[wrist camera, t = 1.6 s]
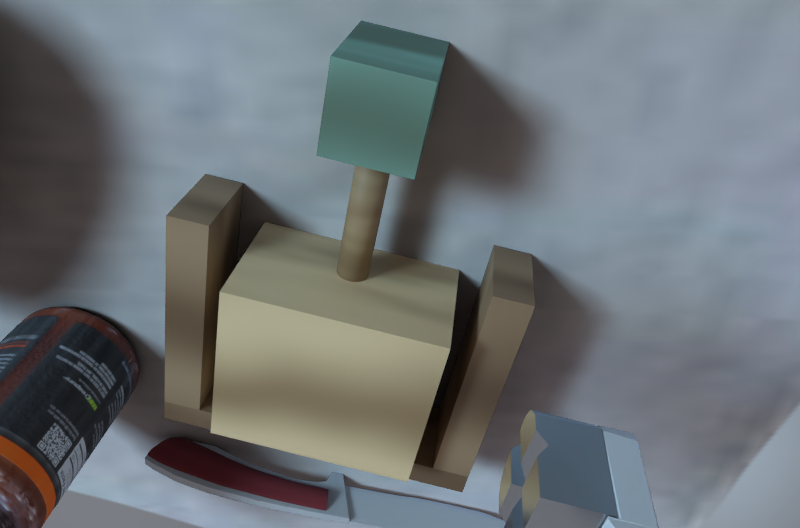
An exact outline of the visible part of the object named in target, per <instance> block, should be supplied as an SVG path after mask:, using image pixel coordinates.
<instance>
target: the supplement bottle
mask: <svg viewBox="0 0 800 528" xmlns="http://www.w3.org/2000/svg"><path fill="white" fill-rule="evenodd" d="M138 377H139V364H138V361H137V357H136V355H135V353H134V350H133V349H132V347H131V345H130V344H129V342H128V341H127V340H126V339H125V338H124V337H123V335H122V334H120V332H119V331H118V330H116V329H115V327H113V326H112V325H111V324H109V323H107V322H106V321H104V320H102V319H101V318H99V317H97V316H95V315H92V314H90V313H88V312H85V311H82V310H79V309H75V308H69V307H50V308H45V309H42V310H39V311H36V312H34V313H33V314H31V315H29V316H28V317H27V318H25V319H24V320H23V321H22V322H21V323H20V324H19V325H17V326H16V327H15V328H14V329H13V330H12V331H11V332H10V333H9V334H8V335H7V336H6V337H5V338H4V339H3V340H2V341H1V342H0V528H41V527H42V526H43V524H44V523H45V521H46V520H47V518H48V517H49V515H50V514H51V512H52V510H53V509H54V508H55V507H56V505H57V504H58V502H59V500H60V499H61V498H62V496H63V495H64V493H65V492H66V490H67V489H68V487H69V486H70V484H71V483H72V481H73V480H74V478H75V477H76V475H77V474H78V472H79V471H80V469H81V468H82V467H83V465H84V464H85V462H86V461H87V459H88V458H89V456H90V455H91V453H92V452H93V450H94V449H95V447H96V446H97V444H98V443H99V442H100V440H101V438H102V437H103V436H104V434H105V433H106V431H107V430H108V428H109V427H110V425H111V424H112V422H113V421H114V419H115V418H116V417H117V415H118V414H119V412H120V410H121V409H122V408H123V406H124V405H125V404H126V402H127V400H128V399H129V397H130V395H131V393H132V392H133V390H134V389H135V387H136V385H137V382H138Z"/></svg>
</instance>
